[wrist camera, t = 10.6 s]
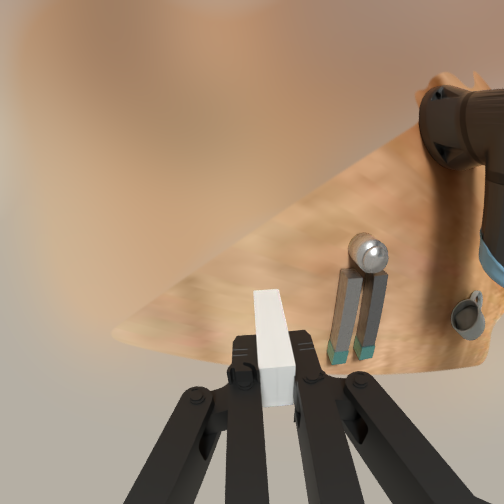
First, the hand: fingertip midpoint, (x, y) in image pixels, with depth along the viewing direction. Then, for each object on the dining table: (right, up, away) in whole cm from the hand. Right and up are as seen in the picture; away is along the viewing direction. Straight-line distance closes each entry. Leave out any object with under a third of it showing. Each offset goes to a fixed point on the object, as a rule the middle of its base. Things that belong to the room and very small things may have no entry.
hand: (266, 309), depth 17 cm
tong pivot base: (+18, -4, +28) cm, 34 cm away
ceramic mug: (+48, -9, +31) cm, 58 cm away
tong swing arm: (+16, -5, +28) cm, 33 cm away
